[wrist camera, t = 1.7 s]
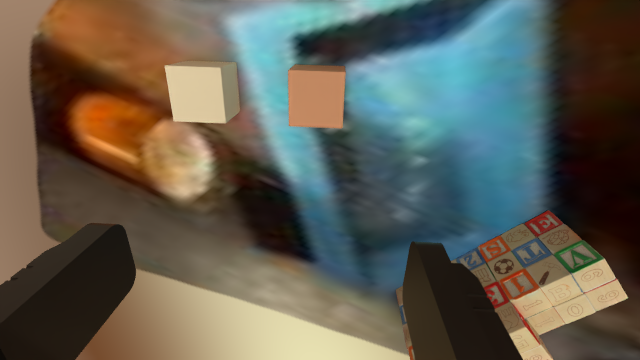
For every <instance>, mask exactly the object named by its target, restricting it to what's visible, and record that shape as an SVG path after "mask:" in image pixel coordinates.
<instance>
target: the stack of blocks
mask: <svg viewBox="0 0 640 360" xmlns="http://www.w3.org/2000/svg"><path fill="white" fill-rule="evenodd" d="M451 263H462V264H463V265H464V266H465V267H467V268H468V269H469V270H470V271H471V272H472V273H473V274H474V275H475V276H476V277H478V279H479V281H480V283H481V284H482V286H483V288H484V290H485V292H486V293H487V298H489V299H490V301H491V302H492V304H493V306H494V308H495V312H497V313H498V315H499V317H500V319H501V320H502V322H503V324H504V326H505V328H506V330H507V331H508V333H509V335H510V337H511V339H512V340H513V342H514V344H515V346H516V348H517V349H518V351H519V353H520V355H521V357H522V358H523V360H553V358H552V356H551V355H550V353H549V352H548V350H547V348H546V347H545V345H544V344H543V342H542V340H541V338H540V337H539V335H540V334H543V333H545V332H548V331H550V330H552V329H555V328H557V327H560V326H562V325H564V324H568V323H570V322H573V321H575V320H578V319H580V318H582V317H585V316H587V315H590V314H592V313H595V312H596V311H598V310H601V309H603V308H606V307H608V306H611V305H613V304H616V303H618V302H620V301H623V300H625V299H627V298H628V297H627V295H626V294H625V292H624V290H623V289H622V287H621V285H620V283H619V282H618V280H617V279H616V278H615V276H614V274H613V272H612V271H611V269H610V267H609V265H608V264H607V262H606V260H605V259H604V258H603V257H602V256H601V255H600V254H599V253H598V252H597V251H595V250H594V249H593V248H592V247H591V246H590V245H588V244H587V243H586V242H585V241H584V240H582V239H581V238H580V237H579V236H578V235H577V234H576V233H574V232H573V231H572V230H571V229H570V228H569V227H568V226H567V225H565V224H563V222H562V221H560V220H559V219H558V218H557V217H556V216H555V215H554V214H553V213H552V212H550V211H549V210H548V211H546V212H544V213H542V214H541V215H539V216H537V217H535V218H533V219H531V220H529V221H528V222H526V223H525V224H520V225H518V226H516V227H515V228H513V229H511V230H509V231H507V232H505V233H503V234H502V235H501V236H498V237H495V238H494V239H492V240H490V241H488V242H486V243H484V244H482V245H480V246H478V248H475V249H473V250H471V251H470V252H468V253H466V254H464V255H462V256H460V257H458V258H457V259H455V260H453V261H451ZM402 291H403V286H402V287H400V288H398V289H396V294H397V299H398V304H399V307H400V313H401V318H402V324H403V331H404V337H405V342H406V347H407V349H408V350H409V356H410V360H415V356H414V352H413V347H412V343H411V339H410V334H409V330H408V326H407V321H406V317H405V312H404V308H403V297H402Z"/></svg>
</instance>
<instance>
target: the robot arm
mask: <svg viewBox="0 0 640 360" xmlns="http://www.w3.org/2000/svg"><path fill="white" fill-rule="evenodd" d="M135 276H136V268H135V264H134V260H133V256H132V253H131V249H130V245H129V242H128V238H127V234H126V231H125V229H124V227H123V226H121V225H119V224H101V223H90V224H87V225H86V226H84V227H83V228H82V229H80V230H79V231H78V232H77V233H75V234H74V235H73V236H72V237H70V238H69V239H68V240H66V241H65V242H63V243H61V244H59V245H57V246H55V247H53V248H51V249H49V250H47V251H45V252H44V253H42V254H41V255H40V256H38V257H37V258H36V259H34V260H33V261H32V262H31V263H29V264H28V265H27V267H26V268H23V269H21V270H20V271H19V272H17V273H16V274H15V275H14V276H12V277H11V280H10V281H5V282H4V283H3V284H1V285H0V360H75V359H76V358H77V357H78V355H79V354H80V353H81V352H82V350H83V349H84V348H85V347H86V345H87V344H88V343H89V342H90V340H91V339H92V338H93V337H94V335H95V334H96V333H97V332H98V330H99V329H100V328H101V326H102V325H103V324H104V323H105V322H106V320H107V319H108V318H109V316H110V315H111V314H112V313H113V311H114V310H115V309H116V308H117V306H118V305H119V304H120V303H121V301H122V300H123V299H124V298H125V296H126V295H127V294H128V293H129V291H130V290H131V288H132V286H133V284H134V281H135ZM402 297H403V308H404V312H405V317H406V321H407V326H408V330H409V334H410V339H411V343H412V347H413V352H414V356H415V360H523V358H522V357H521V355H520V353H519V351H518V349H517V348H516V346H515V344H514V342H513V340H512V339H511V337H510V335H509V333H508V331H507V330H506V328H505V326H504V324H503V322H502V320H501V319H500V317H499V315H498V313H497V312H495V308H494V306H493V304H492V302H491V301H490V299H489V298H487V293H486V292H485V290H484V288H483V286H482V284H481V283H480V281H479V279H478V277H476V276H475V275H474V274H473V273H472V272H471V271H470V270H469V269H468V268H467V267H465V266H464V265H463V264H462V263H451V261H450V259H449V257H448V255H447V253H446V250H445V248H444V246H443V245H442V244H441V243H431V242H412V243H411V245H410V249H409V254H408V260H407V265H406V271H405V277H404V282H403V291H402Z"/></svg>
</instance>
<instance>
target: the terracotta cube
mask: <svg viewBox="0 0 640 360" xmlns="http://www.w3.org/2000/svg"><path fill="white" fill-rule="evenodd" d="M345 74H346V72H345V66H325V65H296V64H295V65H294V66H293V67H291V68H290V69H289V70H288V90H289V126H300V127H324V128H342V126H343V108H344V91H345Z"/></svg>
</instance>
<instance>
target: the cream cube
mask: <svg viewBox="0 0 640 360" xmlns="http://www.w3.org/2000/svg"><path fill="white" fill-rule="evenodd" d="M165 70H166V76H167V83H168V89H169V95H170V101H171V107H172V113H173V119H174V121H183V122H206V123H227V122H228V121H229V120H230V119H232V118H233V117H234V116H235V115H236V114H238V113H239V112H240V103H239V90H238V77H237V63H236V62H212V61H184V62H179V63H175V64H170V65H165Z"/></svg>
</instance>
